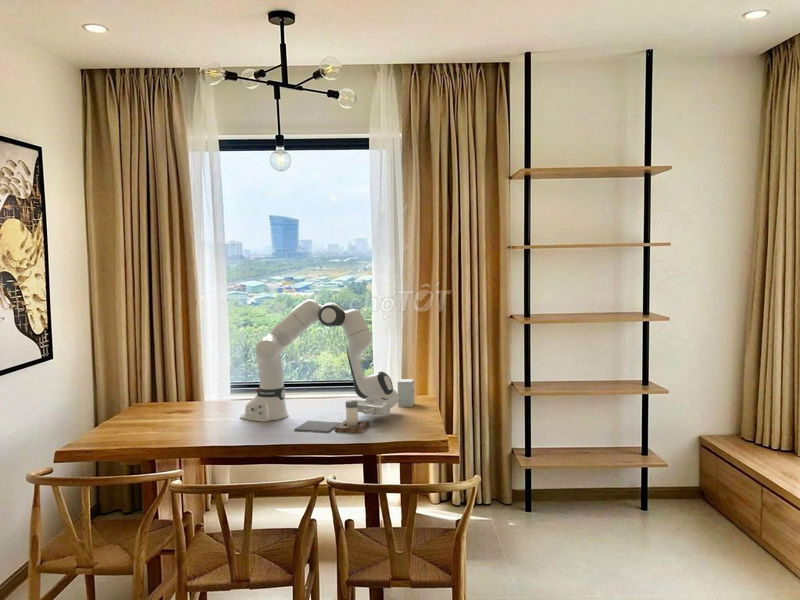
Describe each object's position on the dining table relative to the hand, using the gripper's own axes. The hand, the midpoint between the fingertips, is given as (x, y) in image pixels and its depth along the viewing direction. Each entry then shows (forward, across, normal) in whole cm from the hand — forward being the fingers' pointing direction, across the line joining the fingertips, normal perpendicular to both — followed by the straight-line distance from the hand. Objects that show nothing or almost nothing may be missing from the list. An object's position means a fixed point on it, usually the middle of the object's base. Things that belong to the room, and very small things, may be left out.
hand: (356, 411), depth 278 cm
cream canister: (+4, 0, +7) cm, 8 cm away
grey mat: (+9, -15, +7) cm, 19 cm away
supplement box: (-44, -1, +7) cm, 44 cm away
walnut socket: (+4, 0, +7) cm, 8 cm away
